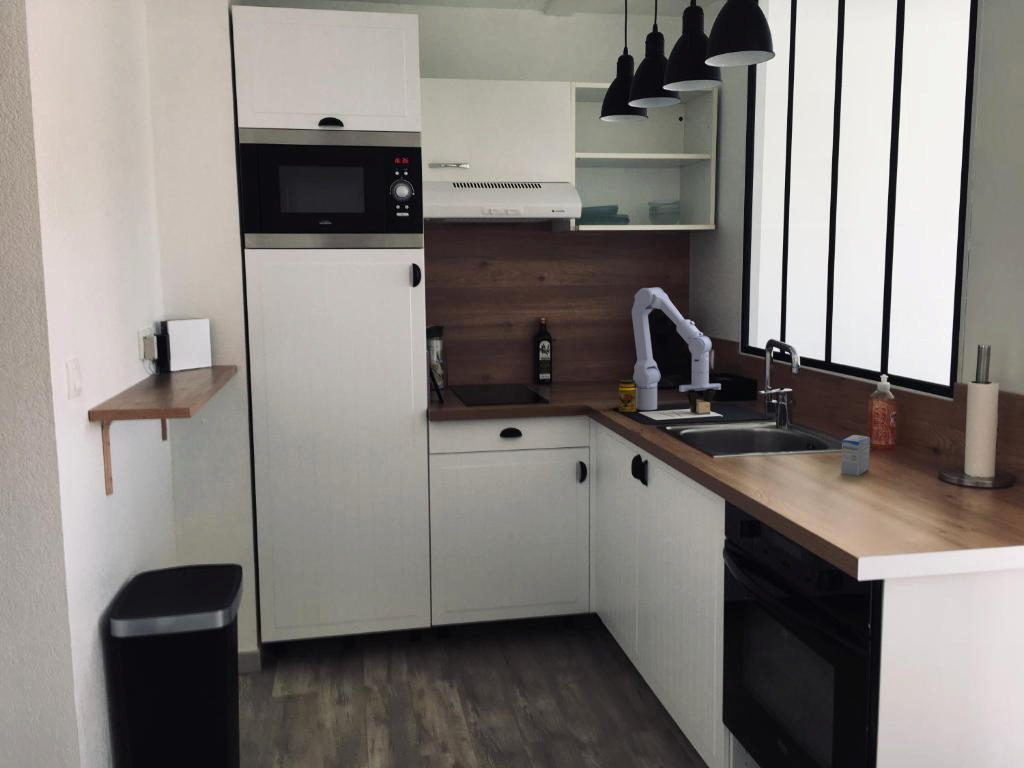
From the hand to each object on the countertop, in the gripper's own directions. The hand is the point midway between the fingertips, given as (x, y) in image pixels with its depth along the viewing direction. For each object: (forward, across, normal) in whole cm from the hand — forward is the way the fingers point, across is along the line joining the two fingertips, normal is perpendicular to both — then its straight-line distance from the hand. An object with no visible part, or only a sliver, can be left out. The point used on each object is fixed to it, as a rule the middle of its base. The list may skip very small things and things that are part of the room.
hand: (700, 411), depth 307 cm
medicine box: (+2, +1, -87) cm, 87 cm away
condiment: (+2, -21, +15) cm, 26 cm away
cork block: (+1, 0, 0) cm, 1 cm away
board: (+2, -7, +1) cm, 7 cm away
